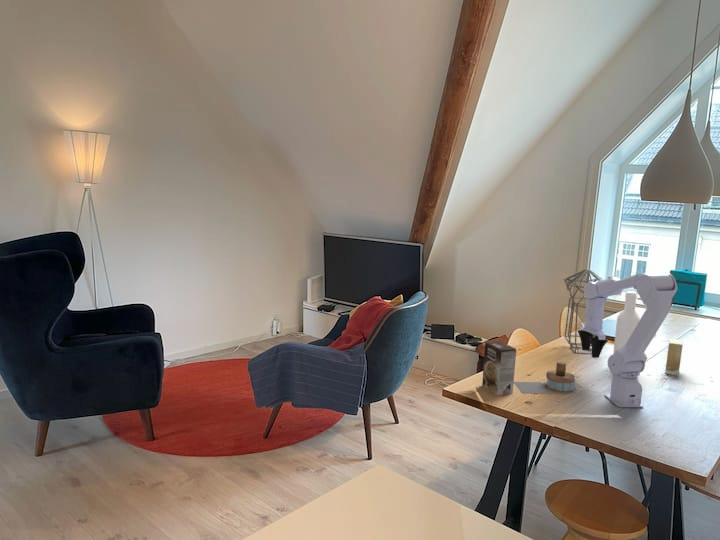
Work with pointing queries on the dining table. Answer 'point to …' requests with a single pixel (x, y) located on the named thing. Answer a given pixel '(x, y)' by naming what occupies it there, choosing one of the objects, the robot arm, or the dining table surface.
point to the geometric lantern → (580, 274)
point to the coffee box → (499, 367)
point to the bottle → (626, 321)
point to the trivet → (533, 387)
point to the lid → (560, 374)
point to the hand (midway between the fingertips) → (590, 353)
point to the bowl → (561, 385)
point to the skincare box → (674, 357)
